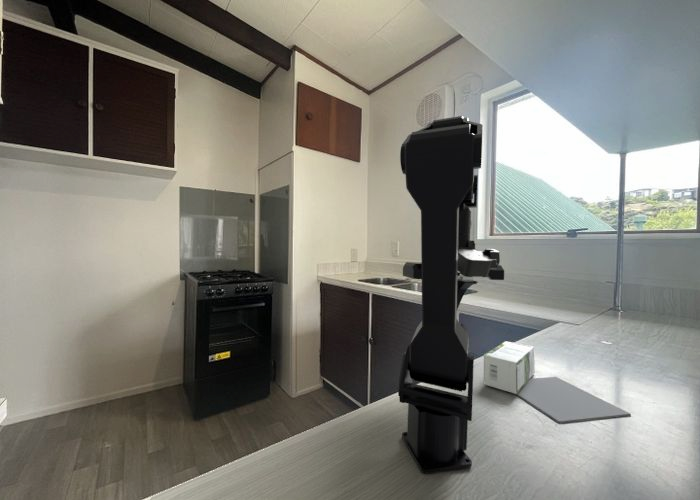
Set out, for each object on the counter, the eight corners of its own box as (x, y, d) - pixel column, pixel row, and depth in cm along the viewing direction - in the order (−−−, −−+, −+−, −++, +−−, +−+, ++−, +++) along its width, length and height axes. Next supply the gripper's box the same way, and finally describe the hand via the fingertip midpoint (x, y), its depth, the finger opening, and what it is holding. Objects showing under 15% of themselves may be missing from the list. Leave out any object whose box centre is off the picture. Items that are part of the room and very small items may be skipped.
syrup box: (483, 384, 53) (504, 365, 63) (518, 395, 49) (535, 372, 59) (483, 354, 53) (504, 340, 64) (518, 362, 49) (534, 345, 59)
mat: (559, 423, 42) (559, 421, 42) (497, 382, 55) (497, 380, 55) (630, 415, 45) (630, 413, 45) (555, 378, 57) (555, 376, 57)
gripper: (429, 231, 44) (425, 328, 44) (529, 235, 48) (526, 326, 48) (403, 234, 55) (400, 312, 55) (486, 237, 58) (483, 310, 59)
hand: (451, 315), depth 54 cm, fingers closed
